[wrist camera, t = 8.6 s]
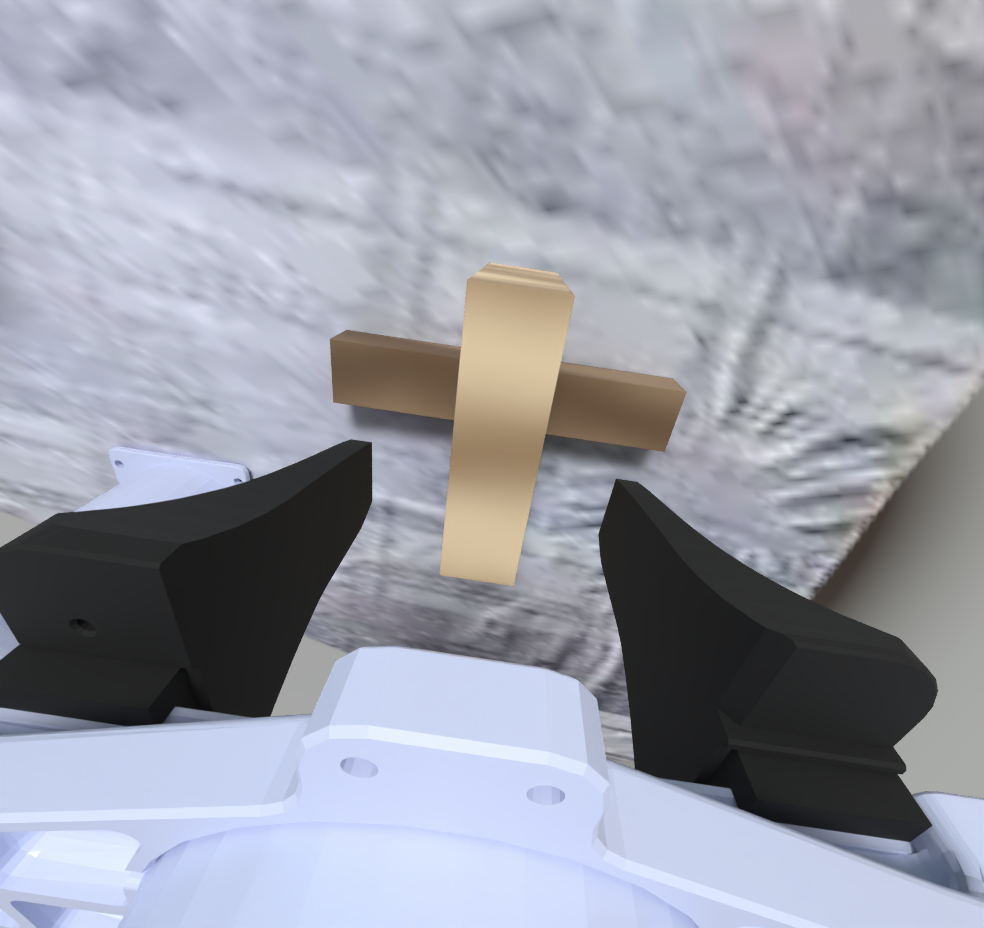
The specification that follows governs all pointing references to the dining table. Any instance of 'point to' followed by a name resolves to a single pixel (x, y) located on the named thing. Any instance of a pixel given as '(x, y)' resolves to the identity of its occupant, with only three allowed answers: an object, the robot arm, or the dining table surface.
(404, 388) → the walnut rail
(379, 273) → the dining table surface
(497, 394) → the beveled light wood block
